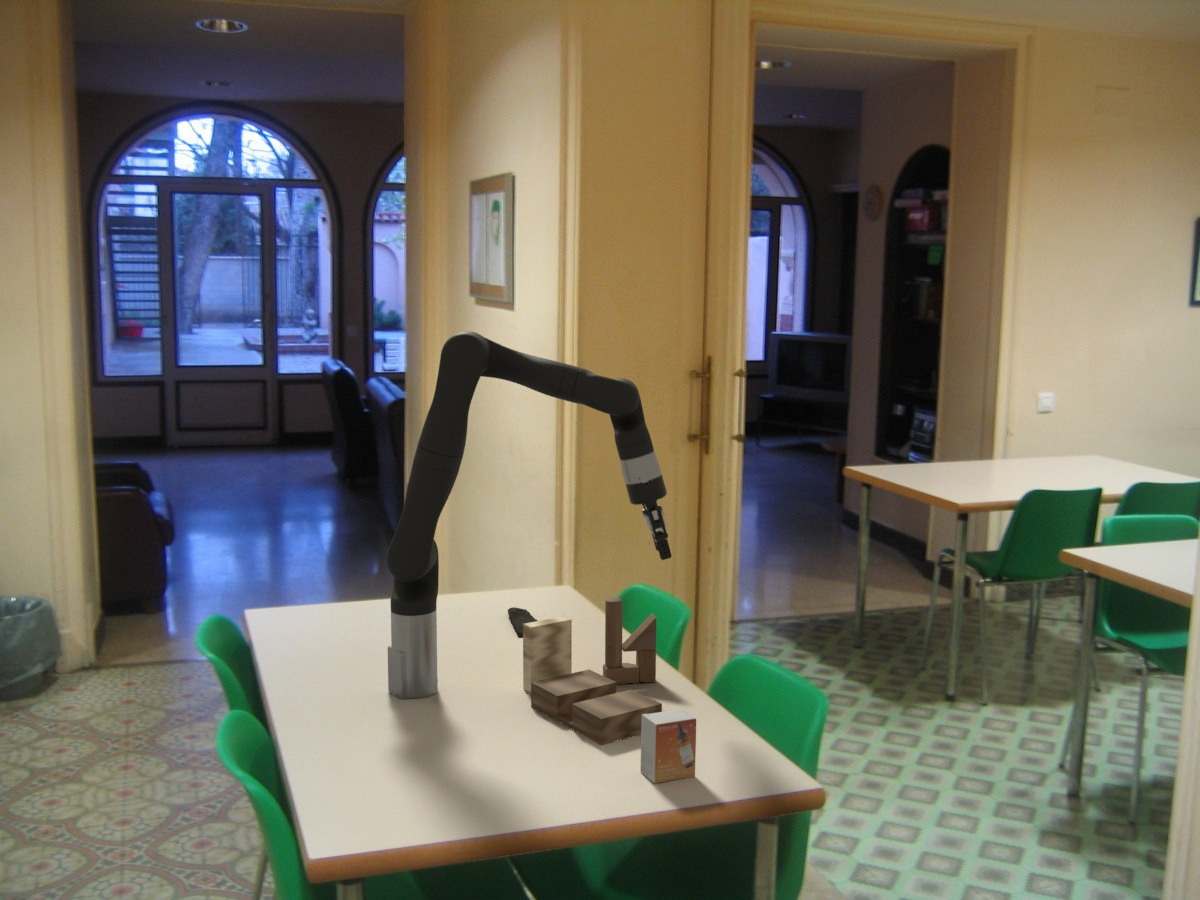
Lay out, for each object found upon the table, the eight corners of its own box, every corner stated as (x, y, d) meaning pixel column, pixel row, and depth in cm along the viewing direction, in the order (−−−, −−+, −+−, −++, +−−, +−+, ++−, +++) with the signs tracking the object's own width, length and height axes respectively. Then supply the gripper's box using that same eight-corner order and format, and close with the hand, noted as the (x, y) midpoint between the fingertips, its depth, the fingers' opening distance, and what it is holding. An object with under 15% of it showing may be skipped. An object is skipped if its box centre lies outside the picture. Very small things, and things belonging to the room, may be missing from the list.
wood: (549, 638, 282) (549, 626, 281) (518, 640, 280) (518, 627, 280) (534, 613, 303) (534, 601, 303) (505, 614, 301) (505, 603, 301)
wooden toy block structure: (656, 682, 250) (657, 599, 247) (606, 686, 247) (606, 602, 245) (651, 677, 253) (652, 595, 251) (602, 680, 251) (603, 597, 248)
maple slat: (530, 693, 243) (530, 627, 241) (523, 689, 245) (523, 623, 243) (571, 684, 248) (571, 619, 246) (563, 680, 251) (563, 616, 249)
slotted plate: (601, 745, 216) (601, 718, 215) (531, 706, 235) (531, 682, 234) (661, 728, 224) (661, 703, 223) (589, 692, 243) (589, 669, 242)
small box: (654, 784, 199) (654, 724, 198) (639, 772, 204) (640, 713, 203) (696, 777, 202) (697, 718, 201) (681, 764, 207) (682, 707, 206)
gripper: (622, 477, 242) (642, 552, 244) (627, 487, 228) (649, 567, 230) (657, 467, 242) (677, 542, 244) (665, 476, 228) (686, 556, 230)
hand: (664, 554), depth 237 cm, fingers open, 8 cm apart
